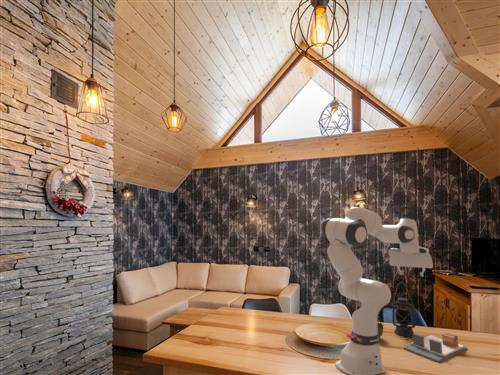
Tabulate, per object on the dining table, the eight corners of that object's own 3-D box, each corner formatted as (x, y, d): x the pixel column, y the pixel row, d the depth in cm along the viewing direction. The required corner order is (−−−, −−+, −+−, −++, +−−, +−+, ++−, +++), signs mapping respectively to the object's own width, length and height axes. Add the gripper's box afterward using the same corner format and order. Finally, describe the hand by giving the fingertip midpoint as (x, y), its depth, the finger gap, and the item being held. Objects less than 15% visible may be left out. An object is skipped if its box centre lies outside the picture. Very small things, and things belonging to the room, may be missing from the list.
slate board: (438, 362, 136) (438, 360, 136) (404, 349, 150) (403, 347, 151) (467, 349, 150) (467, 347, 150) (432, 337, 165) (432, 336, 165)
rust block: (453, 347, 147) (452, 337, 148) (442, 344, 152) (442, 334, 152) (458, 345, 150) (457, 335, 150) (447, 342, 154) (447, 332, 155)
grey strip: (426, 349, 147) (425, 338, 147) (410, 344, 154) (409, 332, 154) (446, 341, 157) (445, 330, 158) (430, 336, 164) (430, 325, 164)
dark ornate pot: (385, 341, 160) (384, 326, 161) (371, 340, 161) (370, 325, 162) (382, 336, 167) (381, 322, 168) (368, 335, 169) (368, 321, 169)
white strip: (444, 356, 140) (443, 344, 140) (427, 350, 146) (426, 338, 147) (464, 347, 150) (463, 335, 150) (447, 341, 156) (446, 330, 157)
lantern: (393, 335, 168) (390, 282, 171) (391, 329, 178) (389, 279, 181) (418, 338, 164) (414, 284, 167) (414, 331, 174) (411, 280, 177)
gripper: (387, 248, 156) (389, 274, 154) (432, 250, 146) (434, 278, 145) (388, 247, 161) (390, 272, 160) (431, 249, 152) (433, 276, 150)
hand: (411, 275), depth 152 cm, fingers open, 8 cm apart
